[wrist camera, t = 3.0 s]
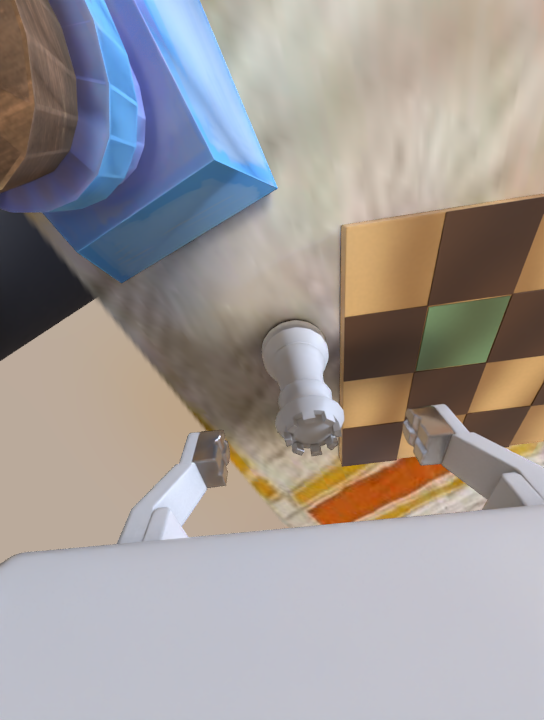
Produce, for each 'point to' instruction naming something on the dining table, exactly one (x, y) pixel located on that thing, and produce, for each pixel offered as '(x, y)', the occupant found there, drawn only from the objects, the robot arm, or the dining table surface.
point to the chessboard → (442, 325)
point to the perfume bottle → (122, 127)
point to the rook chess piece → (302, 387)
